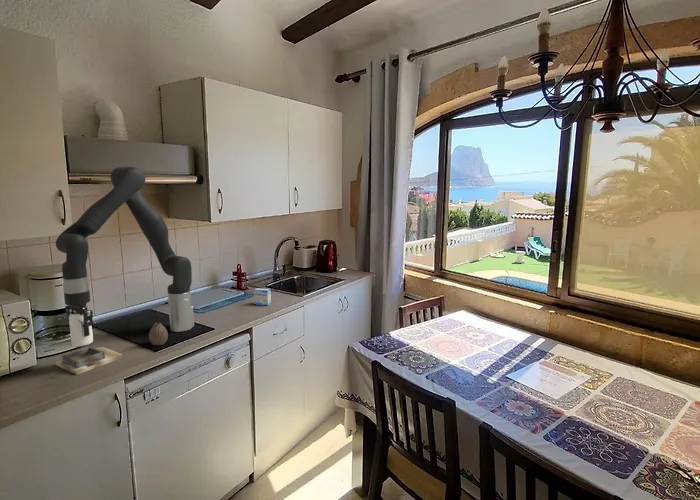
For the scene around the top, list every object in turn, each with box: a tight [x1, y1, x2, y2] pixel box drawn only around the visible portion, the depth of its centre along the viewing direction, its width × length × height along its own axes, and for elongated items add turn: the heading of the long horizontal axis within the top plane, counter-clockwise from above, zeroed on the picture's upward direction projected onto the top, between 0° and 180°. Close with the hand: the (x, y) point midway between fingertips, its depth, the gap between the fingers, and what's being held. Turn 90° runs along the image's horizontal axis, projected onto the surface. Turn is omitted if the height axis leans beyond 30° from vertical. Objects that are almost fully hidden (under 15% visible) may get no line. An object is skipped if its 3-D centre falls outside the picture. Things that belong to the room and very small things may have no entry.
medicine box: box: [253, 287, 272, 306], centre depth 214 cm, size 8×4×9 cm, turn 80°
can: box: [68, 312, 94, 348], centre depth 141 cm, size 6×6×12 cm
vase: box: [148, 322, 169, 347], centre depth 161 cm, size 7×7×9 cm
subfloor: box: [55, 346, 124, 376], centre depth 145 cm, size 16×14×4 cm
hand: (81, 335), depth 142 cm, fingers closed on can, 5 cm apart
